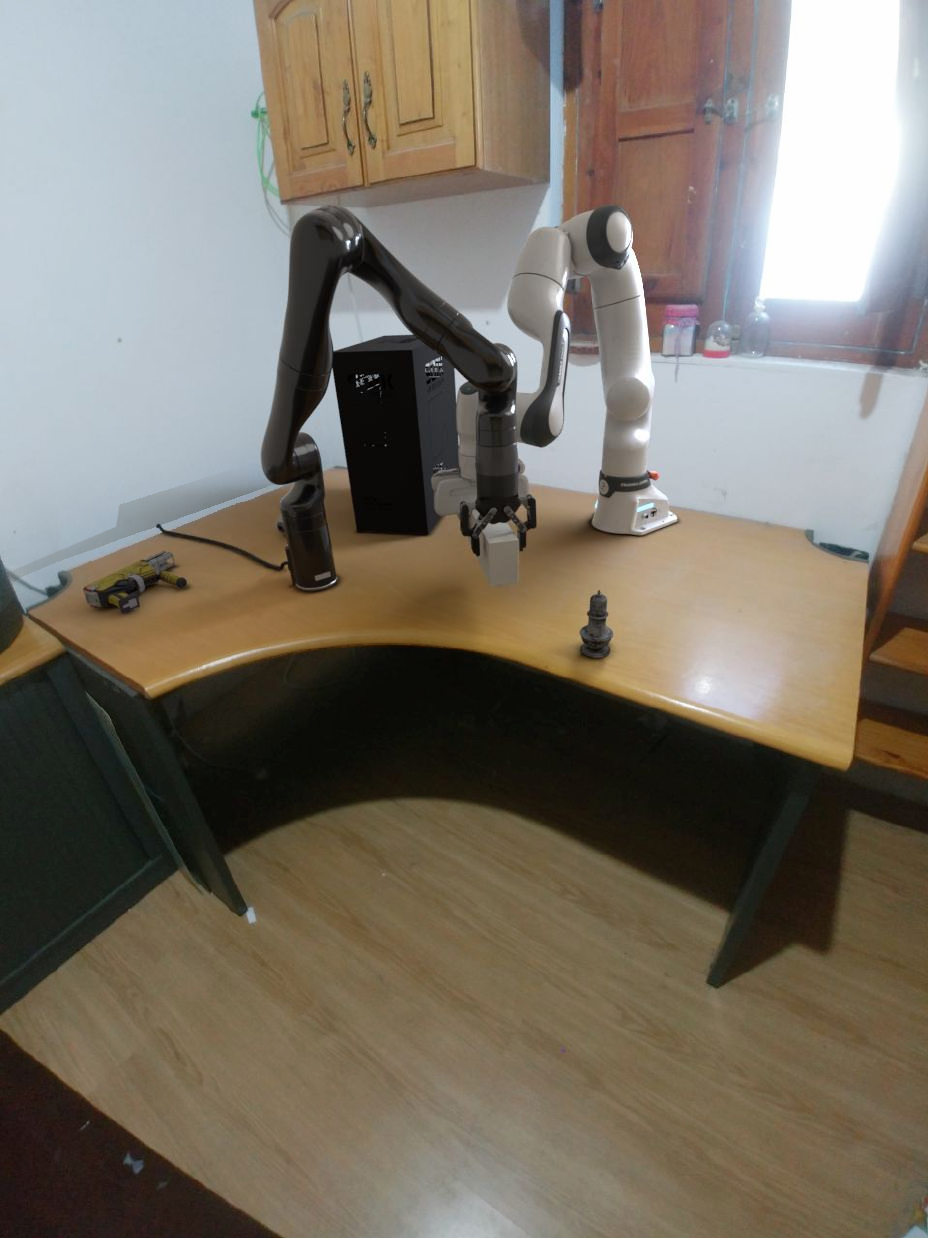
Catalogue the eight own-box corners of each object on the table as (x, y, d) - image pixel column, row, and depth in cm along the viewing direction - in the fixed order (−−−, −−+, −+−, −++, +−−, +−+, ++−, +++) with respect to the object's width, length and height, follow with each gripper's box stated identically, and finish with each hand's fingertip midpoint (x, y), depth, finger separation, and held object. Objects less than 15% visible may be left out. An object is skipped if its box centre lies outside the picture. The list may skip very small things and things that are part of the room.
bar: (467, 539, 134) (465, 501, 130) (492, 537, 135) (491, 498, 130) (490, 587, 114) (488, 543, 109) (519, 583, 114) (518, 539, 110)
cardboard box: (428, 534, 159) (412, 349, 137) (356, 531, 164) (329, 352, 141) (461, 489, 191) (452, 333, 168) (400, 488, 195) (384, 335, 173)
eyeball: (273, 537, 164) (268, 516, 161) (287, 528, 169) (282, 508, 166) (291, 539, 161) (286, 518, 158) (305, 530, 166) (301, 510, 163)
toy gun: (211, 559, 145) (160, 548, 149) (132, 601, 125) (76, 587, 129) (214, 576, 147) (164, 565, 151) (137, 620, 127) (82, 606, 131)
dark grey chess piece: (612, 659, 105) (617, 599, 99) (577, 657, 106) (581, 597, 100) (611, 641, 110) (616, 582, 104) (579, 639, 111) (582, 581, 105)
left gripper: (460, 477, 103) (465, 564, 111) (541, 469, 104) (540, 555, 113) (454, 466, 109) (459, 549, 117) (530, 458, 111) (530, 540, 119)
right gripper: (433, 475, 118) (438, 541, 125) (532, 463, 122) (532, 528, 129) (427, 467, 124) (433, 530, 131) (523, 455, 127) (523, 518, 134)
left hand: (499, 552), depth 115 cm, fingers open, 8 cm apart
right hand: (483, 529), depth 130 cm, fingers closed on bar, 5 cm apart
